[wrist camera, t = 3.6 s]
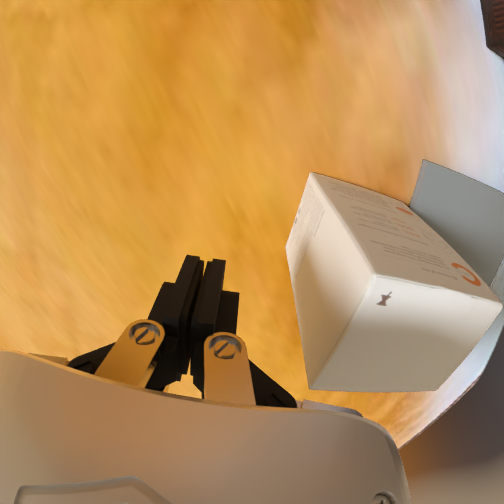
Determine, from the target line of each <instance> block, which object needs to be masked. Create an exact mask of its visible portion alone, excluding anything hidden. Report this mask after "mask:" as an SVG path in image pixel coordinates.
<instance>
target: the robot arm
mask: <svg viewBox="0 0 504 504" xmlns="http://www.w3.org/2000/svg"><path fill="white" fill-rule="evenodd" d="M225 263H226V260H219V259H213V261H212V262H209V261H208V262H207V265H206V269H205V272H204V276H203V270H204V261H202V260H200V257H198V256H191V255H187V256H186V258H185V260H184V263H183V265H182V267H181V270H180V272H179V275H178V277H177V280H176V282H175V283H170V282H164V283H163V285H162V287H161V289H160V291H159V294H158V296H157V298H156V300H155V303H154V305H153V307H152V309H151V312H150V314H149V316H148V319H144V320H137V321H134V322H133V323H131V324H130V325H129V326H128V327H127V328H126V329H125V330H124V332H123V333H122V335H121V336H120V337H119V339H118V340H117V342H115V343H112V344H110V345H107V346H105V347H102V348H99V349H97V350H94V351H92V352H89V353H86V354H84V355H81V356H78V357H76V358H74V359H72V360H71V361H68V359H67V358H63V357H54V356H46V355H38V354H31V353H23V352H19V351H14V350H3V349H0V504H411V498H410V493H409V488H408V483H407V479H406V475H405V471H404V467H403V464H402V461H401V458H400V455H399V452H398V449H397V447H396V444H395V442H394V440H393V438H392V437H391V435H390V434H389V432H388V431H387V430H386V429H385V428H384V427H383V426H381V425H380V424H378V423H376V422H374V421H372V420H369V419H367V418H364V417H363V416H362V415H361V414H360V413H359V412H358V411H356V410H353V409H349V408H344V407H338V406H333V405H328V404H323V403H318V402H314V401H309V400H305V399H304V400H303V402H301V401H297V400H295V399H294V398H293V397H292V395H291V394H289V393H288V392H287V391H286V390H285V389H283V388H282V387H281V386H280V385H278V384H277V383H276V382H275V381H274V380H272V379H271V378H270V377H269V376H268V375H266V374H265V373H264V372H263V371H262V370H261V369H259V368H258V367H257V366H256V365H255V364H254V363H252V362H251V361H250V360H249V359H248V355H247V348H246V345H245V342H244V341H243V340H242V339H241V338H240V337H238V336H237V335H236V327H237V316H238V304H239V293H238V292H230V291H223V290H222V289H223V280H224V272H225ZM190 357H191V359H190ZM189 362H190V375H192V376H193V384H194V385H195V386H196V387H197V388H198V389H199V390H200V391H201V392H202V394H201V399H199V398H193V397H187V396H181V395H176V394H171V393H167V392H168V389H169V384H171V383H173V382H175V381H180V380H181V376H182V374H187V371H188V367H189Z"/></svg>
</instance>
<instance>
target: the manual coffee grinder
mask: <svg viewBox="0 0 504 504" xmlns="http://www.w3.org/2000/svg"><path fill="white" fill-rule="evenodd" d="M480 2H481V9H482V15H483V21H484V28H485V36H486V46H487V47H489V48H490V49H492V50H493V51H494V52H496V53H497V54H499V55H500V56H501V57H503V58H504V0H480Z"/></svg>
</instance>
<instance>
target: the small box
mask: <svg viewBox="0 0 504 504" xmlns="http://www.w3.org/2000/svg"><path fill="white" fill-rule="evenodd" d="M286 254H287V259H288V265H289V271H290V277H291V283H292V289H293V294H294V299H295V305H296V310H297V317H298V323H299V330H300V335H301V341H302V348H303V354H304V361H305V367H306V374H307V380H308V387H309V389H311V390H327V391H346V392H419V391H436V390H437V389H438V388H439V387H440V386H441V385H442V384H443V383H444V382H445V381H446V380H447V379H448V378H449V376H450V375H451V374H452V373H453V372H454V371H455V370H456V369H457V367H458V366H459V365H460V364H461V363H462V362H463V360H464V359H465V358H466V357H467V356H468V355H469V353H470V352H471V351H472V350H473V348H474V347H475V346H476V345H477V343H478V342H479V341H480V339H481V338H482V337H483V335H484V334H485V333H486V331H487V330H488V329H489V327H490V326H491V324H492V323H493V321H494V320H495V319H496V317H497V316H498V314H499V313H500V311H501V310H502V308H503V304H502V302H501V301H500V300H499V299H498V297H497V296H496V295H495V294H494V293H493V292H492V290H491V289H490V288H489V287H488V286H487V284H486V283H485V282H484V281H483V280H482V279H481V278H480V277H479V275H478V274H477V273H476V272H475V271H474V270H473V269H472V268H471V267H470V266H469V265H468V264H467V263H466V262H465V261H464V260H463V258H462V257H461V256H460V255H459V254H458V253H457V252H456V251H455V250H454V249H453V248H452V247H451V246H450V245H449V244H448V243H447V242H446V241H445V240H444V239H443V238H442V237H441V236H440V235H438V234H437V233H436V232H435V231H434V230H433V229H432V228H431V227H430V226H429V225H428V224H426V223H425V222H424V221H423V220H422V219H421V218H420V217H419V216H418V215H417V214H415V213H414V212H413V211H412V210H411V209H410V208H409V207H407V206H406V205H405V204H404V203H403V202H402V201H399V200H396V199H394V198H391V197H389V196H386V195H383V194H380V193H378V192H375V191H372V190H369V189H366V188H363V187H360V186H357V185H354V184H351V183H347V182H344V181H341V180H338V179H335V178H331V177H328V176H324V175H321V174H317V173H313V172H310V174H309V177H308V180H307V183H306V186H305V190H304V193H303V196H302V199H301V202H300V205H299V208H298V211H297V215H296V218H295V221H294V224H293V226H292V229H291V232H290V235H289V238H288V241H287V244H286Z"/></svg>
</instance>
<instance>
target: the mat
mask: <svg viewBox="0 0 504 504" xmlns="http://www.w3.org/2000/svg"><path fill="white" fill-rule="evenodd" d="M409 208H410V209H411V210H412V211H413V212H414V213H415V214H417V215H418V216H419V217H420V218H421V219H422V220H423V221H424V222H425V223H426V224H428V225H429V226H430V227H431V228H432V229H433V230H434V231H435V232H436V233H437V234H438V235H440V236H441V237H442V238H443V239H444V240H445V241H446V242H447V243H448V244H449V245H450V246H451V247H452V248H453V249H454V250H455V251H456V252H457V253H458V254H459V255H460V256H461V257H462V258H463V260H464V261H465V262H466V263H467V264H468V265H469V266H470V267H471V268H472V269H473V270H474V271H475V272H476V273H477V274H478V275H479V277H480V278H481V279H482V280H483V281H484V282H485V283H486V284H487V286H488V287H489V286H490V284H491V282H492V280H493V278H494V276H495V274H496V272H497V270H498V268H499V266H500V264H501V262H502V259H503V257H504V193H502V192H500V191H498V190H496V189H494V188H492V187H490V186H488V185H486V184H483V183H481V182H479V181H477V180H475V179H472V178H470V177H468V176H465V175H463V174H461V173H458V172H456V171H453V170H451V169H448V168H446V167H443V166H440V165H438V164H435V163H432V162H430V161H427V160H424V159H423V162H422V166H421V169H420V173H419V177H418V180H417V184H416V187H415V190H414V194H413V197H412V200H411V203H410V206H409Z"/></svg>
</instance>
